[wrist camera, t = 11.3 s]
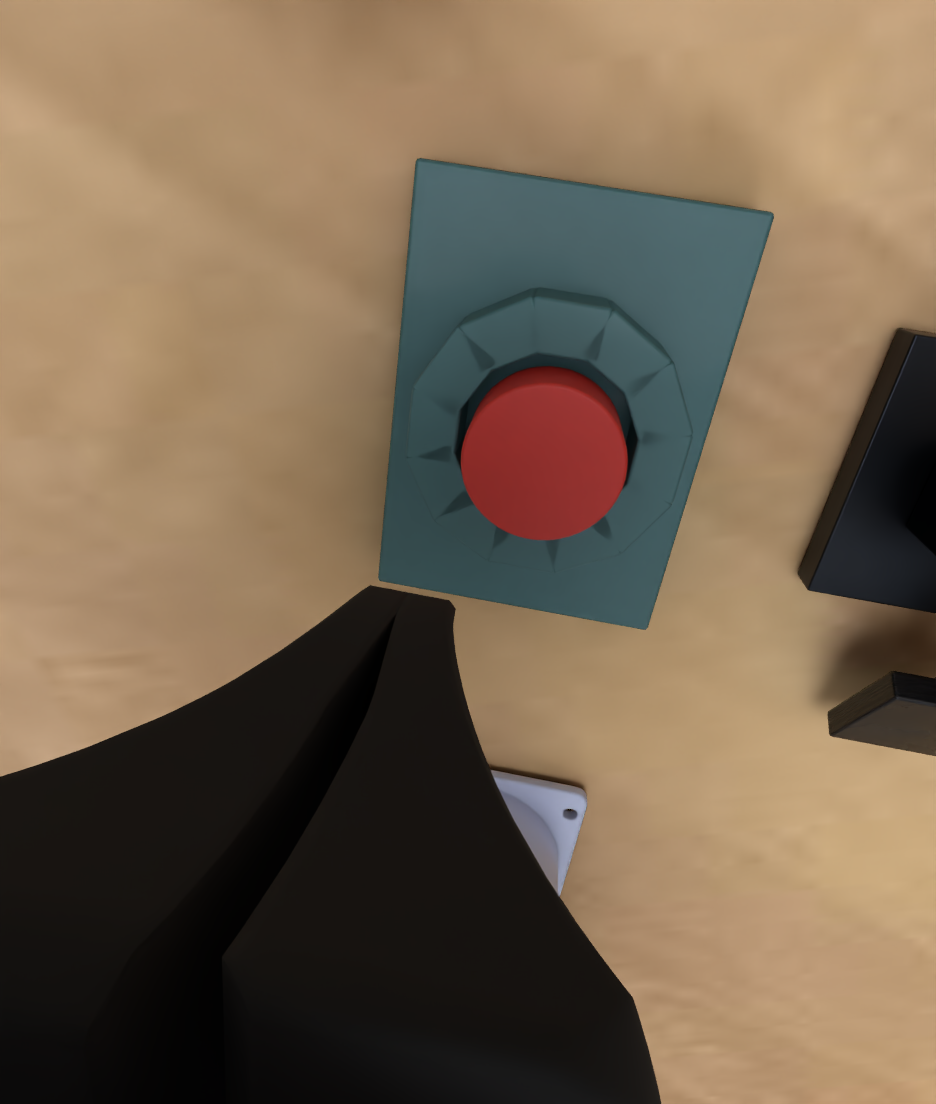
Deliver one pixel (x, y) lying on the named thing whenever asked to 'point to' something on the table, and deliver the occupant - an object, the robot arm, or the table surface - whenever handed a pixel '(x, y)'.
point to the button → (544, 454)
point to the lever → (890, 714)
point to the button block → (561, 341)
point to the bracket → (885, 491)
